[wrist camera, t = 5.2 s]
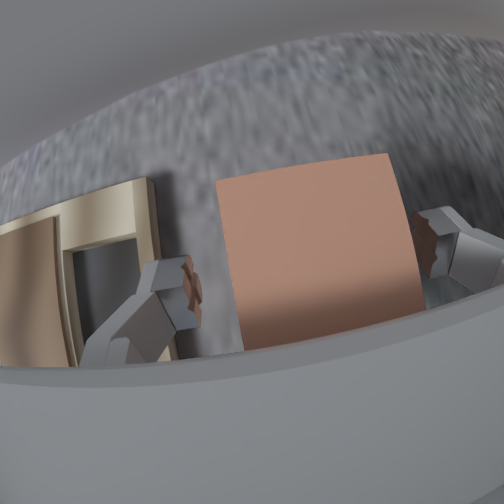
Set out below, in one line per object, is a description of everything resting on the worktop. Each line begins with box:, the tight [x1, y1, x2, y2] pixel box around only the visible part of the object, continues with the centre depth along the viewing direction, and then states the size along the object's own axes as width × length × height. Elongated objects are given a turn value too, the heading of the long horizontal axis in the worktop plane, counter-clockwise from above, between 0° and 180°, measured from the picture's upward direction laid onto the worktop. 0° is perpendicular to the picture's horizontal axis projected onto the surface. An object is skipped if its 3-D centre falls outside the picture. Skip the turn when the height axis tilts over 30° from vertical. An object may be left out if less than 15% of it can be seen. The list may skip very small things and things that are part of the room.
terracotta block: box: [215, 153, 426, 351], centre depth 13 cm, size 4×4×12 cm
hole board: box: [0, 177, 179, 367], centre depth 19 cm, size 16×16×2 cm
